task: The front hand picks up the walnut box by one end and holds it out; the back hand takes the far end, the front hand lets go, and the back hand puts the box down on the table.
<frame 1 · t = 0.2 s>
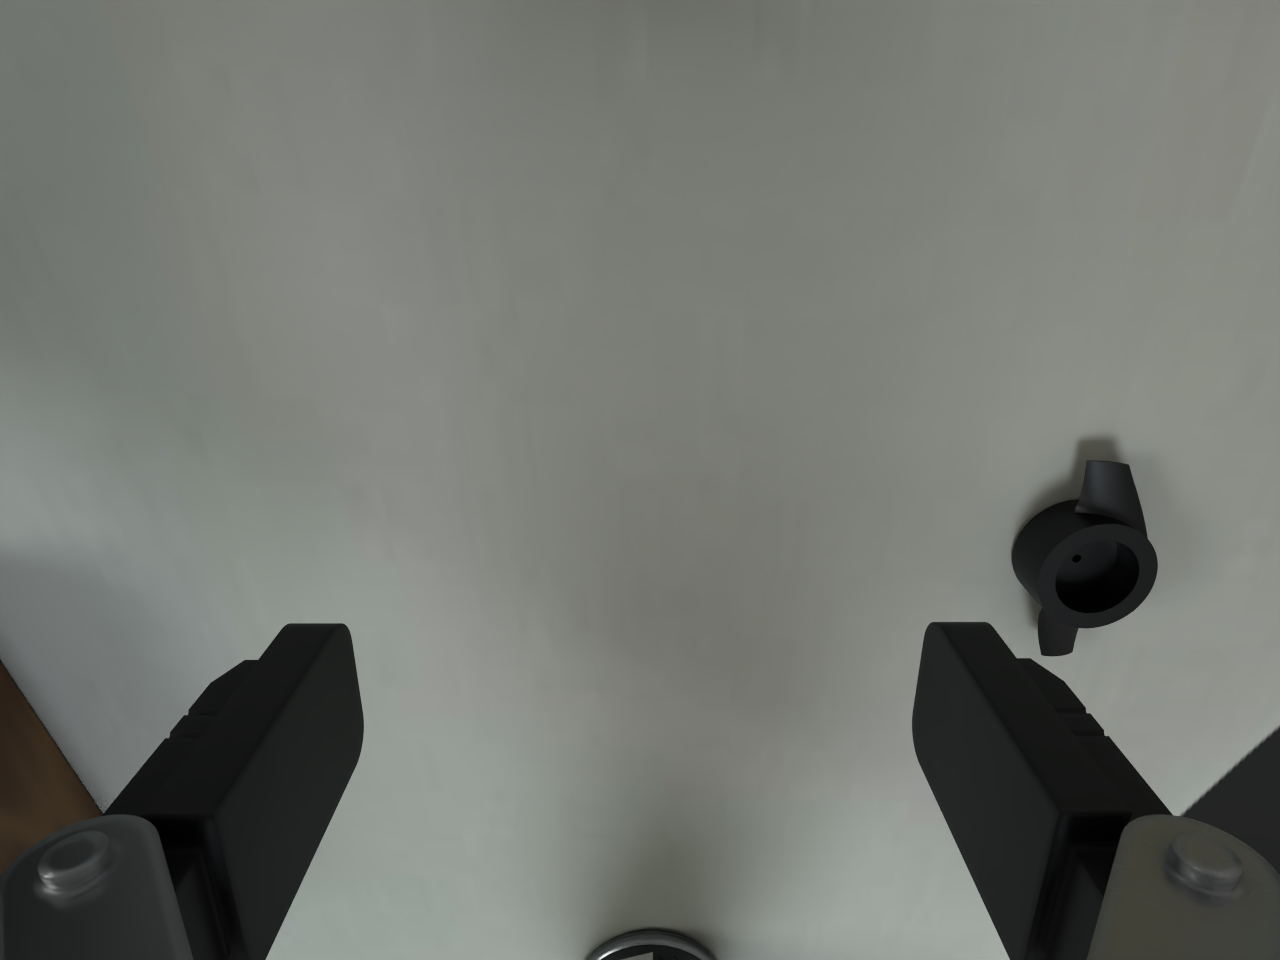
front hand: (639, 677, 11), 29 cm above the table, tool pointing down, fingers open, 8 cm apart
duct tape: (1066, 549, 43), on the table
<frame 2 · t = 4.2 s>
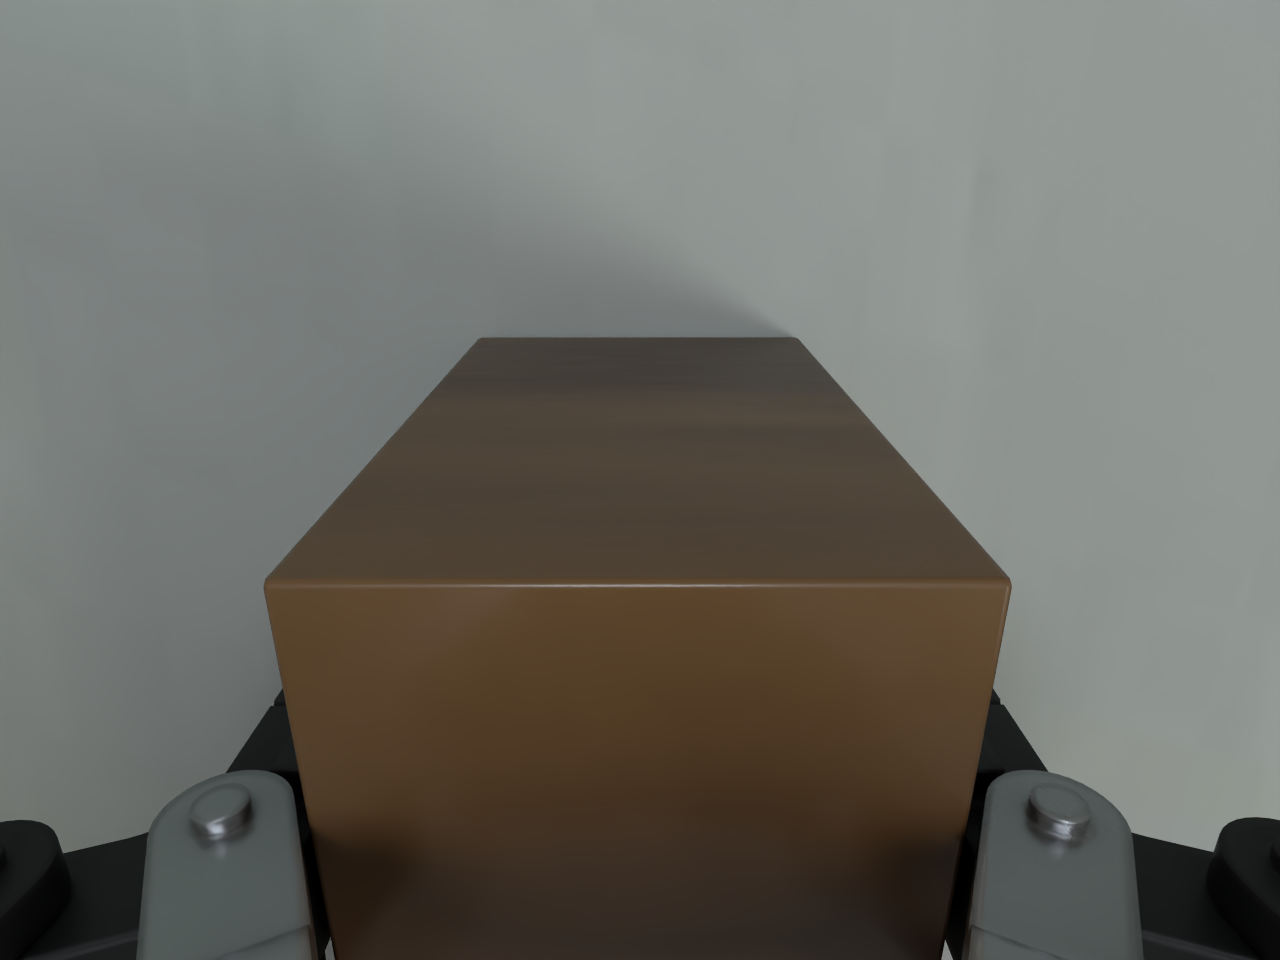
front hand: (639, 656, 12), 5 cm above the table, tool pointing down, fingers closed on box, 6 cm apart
box: (638, 785, 19), on the table, touching front hand
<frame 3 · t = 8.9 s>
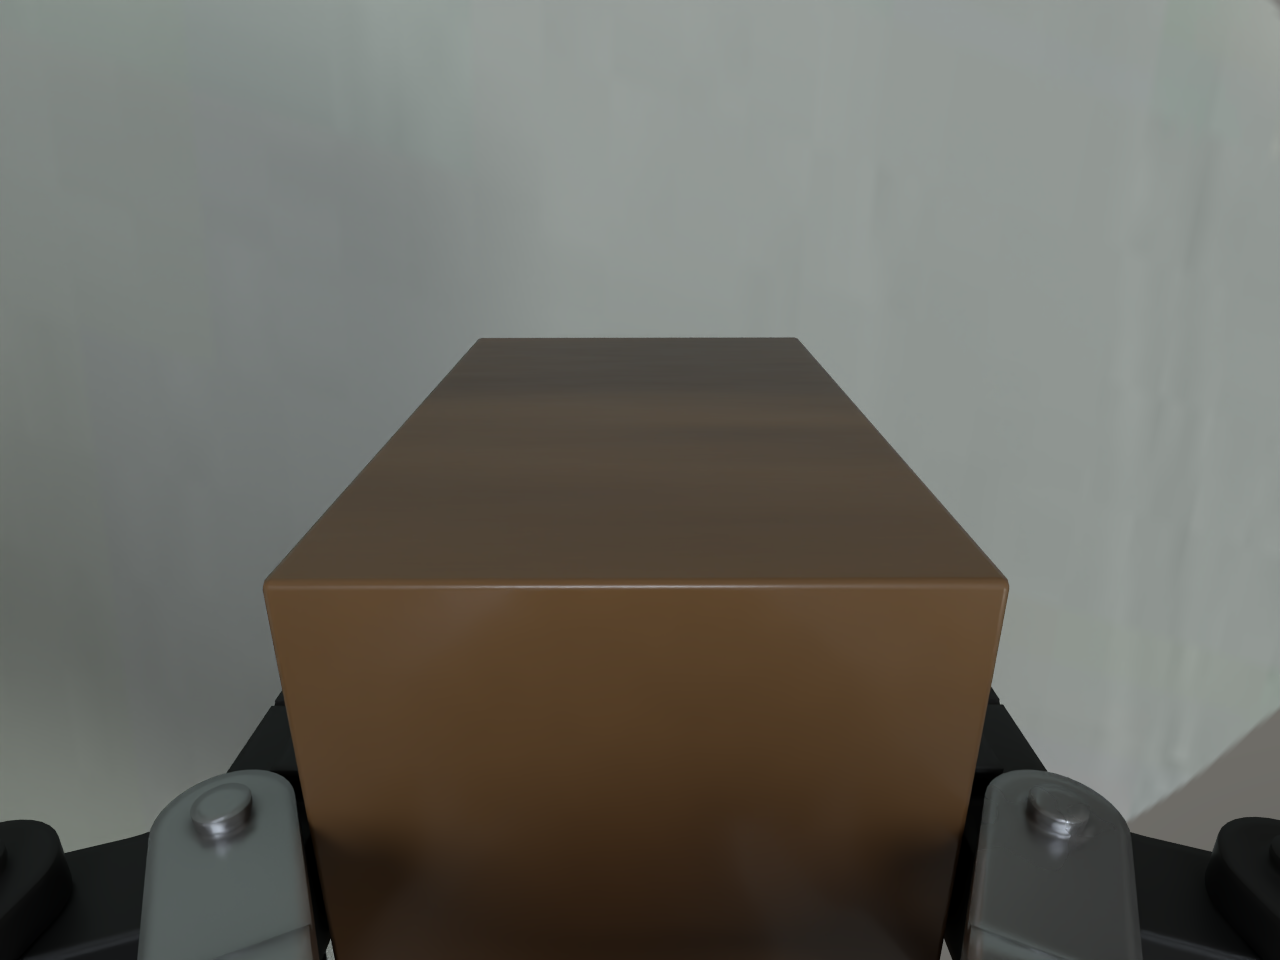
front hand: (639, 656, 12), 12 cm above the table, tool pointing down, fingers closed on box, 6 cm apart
box: (639, 784, 19), point 7 cm above the table, touching front hand, back hand
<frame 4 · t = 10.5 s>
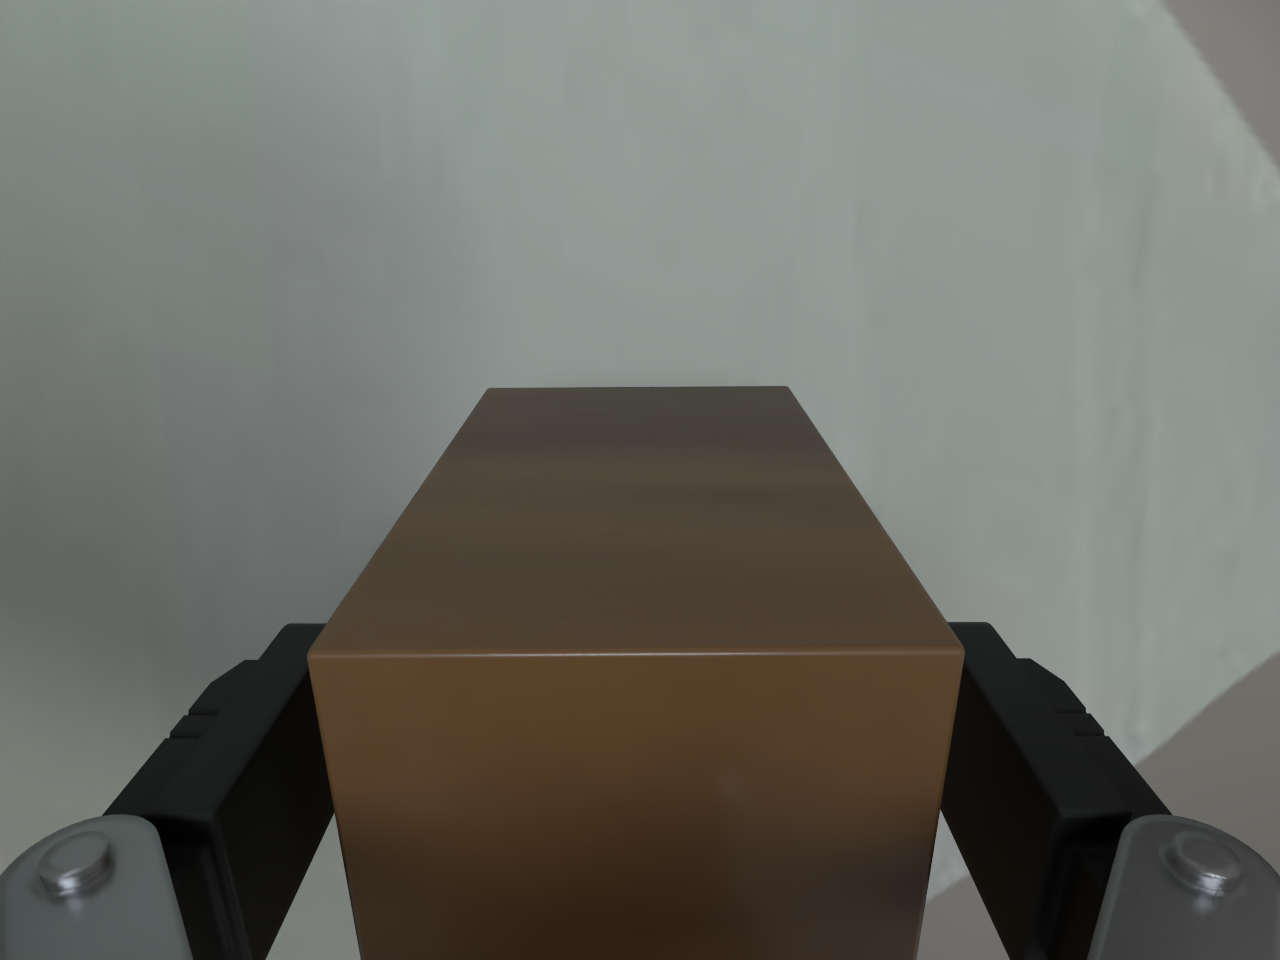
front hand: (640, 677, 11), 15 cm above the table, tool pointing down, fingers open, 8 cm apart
box: (641, 807, 20), point 9 cm above the table, touching back hand
when the back hand's fingers open (2 cm above the table, at t = 18.6 s): box drops 2 cm, on the table.
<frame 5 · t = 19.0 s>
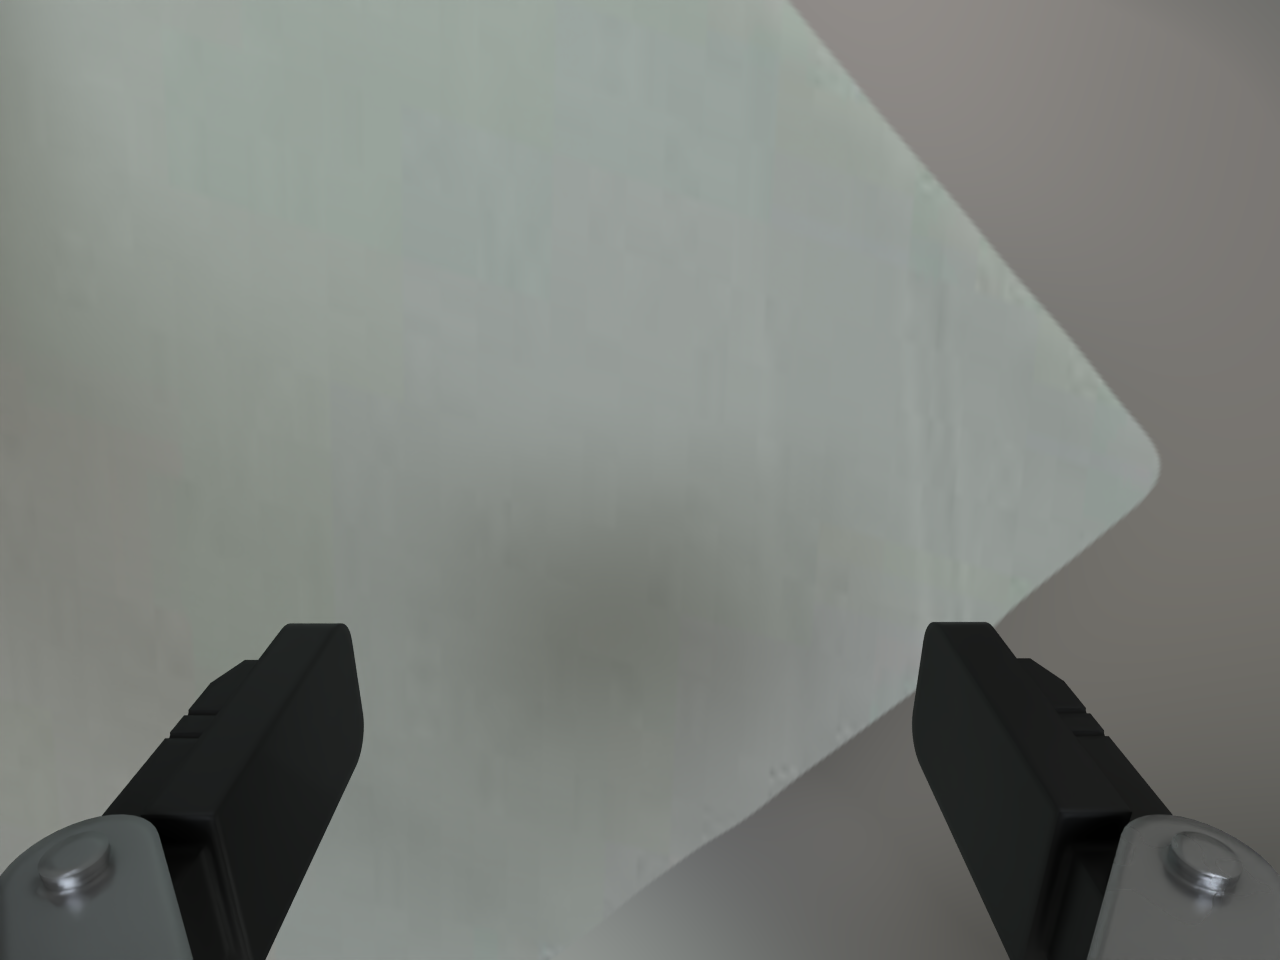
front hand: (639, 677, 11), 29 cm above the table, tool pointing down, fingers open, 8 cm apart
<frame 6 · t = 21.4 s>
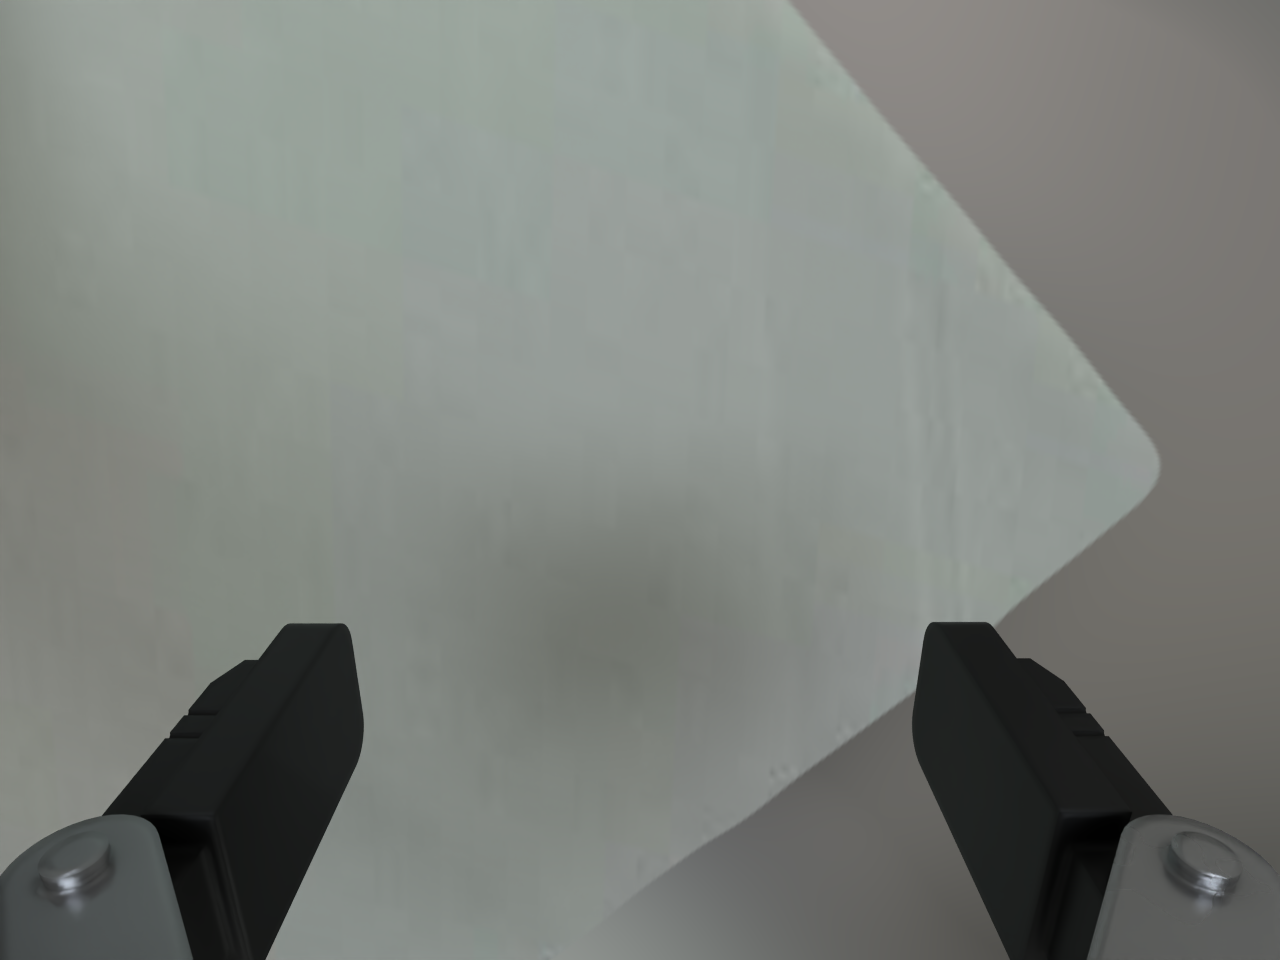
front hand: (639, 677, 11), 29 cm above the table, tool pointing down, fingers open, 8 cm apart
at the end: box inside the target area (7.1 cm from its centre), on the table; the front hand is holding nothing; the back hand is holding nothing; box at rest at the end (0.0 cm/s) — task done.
